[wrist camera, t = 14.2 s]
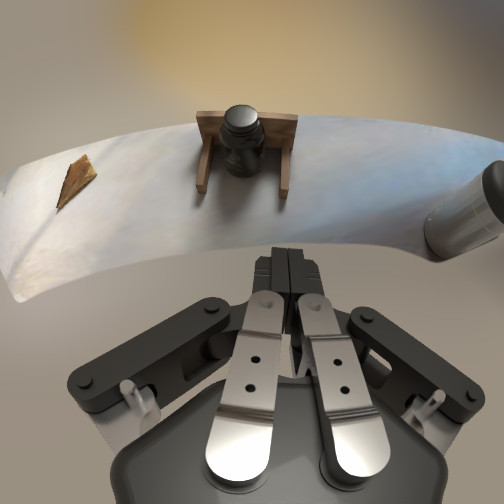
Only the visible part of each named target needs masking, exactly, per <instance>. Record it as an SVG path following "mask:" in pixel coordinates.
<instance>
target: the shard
mask: <svg viewBox="0 0 504 504" xmlns="http://www.w3.org/2000/svg"><path fill="white" fill-rule="evenodd" d="M96 175H97V173H96V171H95V170H94V168H93V166H92V164H91V162H90V159H89V158H88V156H87V155H86V154H85V155H83V156H82V157H81V158H80V159H79V160H77V161H76V162H74V163H73V164H70V167H69V169H68V171H67V175H66V177H65V180H64V182H63V186H62V189H61V193H60V197H59V200H58V203H57V207H56V208H61V207H62V206H63V205H64V204H65V203H66V202H67V201H68V200H69V199H70V198H71V197H72V196H73V195H74V194H75V193H76V192H77V190H79V189H80V188H81V187H82V186H84V185H85V184H86V183H87V182H88V181H90V180H91V179H92V178H94V177H95V176H96Z"/></svg>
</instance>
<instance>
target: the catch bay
mask: <svg viewBox="0 0 504 504" xmlns="http://www.w3.org/2000/svg"><path fill="white" fill-rule="evenodd" d="M225 112H226V111H197V114H196V119H197V123H198V126H199V130H200V134H201V137H202V141H203V148H202V153H201V158H200V163H199V168H198V174H197V179H196V184H195V185H196V187H197V190H198V192H199V193H206V190H207V184H208V178H209V172H210V167H211V161H212V155H213V150H214V145H221V143H220V137H219V132H220V128H221V126H222V125H223V123H224V115H225ZM257 114H258V120H259V121H260V122H261V123H262V125H263V127H264V130H265V147H272V148H281V170H280V194H279V198H287V195H288V190H289V149H293V144H294V138H295V132H296V127H297V121H298V115H293V114H281V113H267V112H257Z"/></svg>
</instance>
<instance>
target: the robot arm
mask: <svg viewBox="0 0 504 504" xmlns="http://www.w3.org/2000/svg"><path fill="white" fill-rule="evenodd" d="M424 232H425V237H426V240H427V243H428V245H429V246H430V248H431V249H432V251H433V252H434V253H435V254H436V255H438V256H440V257H442V258H446V259H448V258H452V257H454V256H457V255H459V254H461V253H463V252H465V251H467V250H470V249H472V248H474V247H476V246H478V245H480V244H482V243H484V242H486V241H488V240H490V239H492V238H494V237H496V236H498V235H500V234H502V233H504V161H500V160H498V161H495V162H493V163H491V164H490V165H489V166H488V167H487V168H486V169H484V170H483V171H482V172H481V173H480V174H479V175H477V176H476V177H475V178H474V179H473V180H472V181H470V182H469V183H468V184H467V185H466V186H464V187H463V188H462V189H461V190H459V191H458V192H457V193H456V194H455V195H453V196H452V197H451V198H450V199H448V200H447V201H446V202H444V203H443V204H442V205H441V206H439V207H438V208H437V209H435V210H434V211H433V212H432V213H430V214H429V215H428V217H427V218H426V221H425V225H424ZM284 326H285V334H291V341H290V346H289V351H290V359H291V366H292V374H293V378H288V377H284V376H280V375H278V371H279V361H280V351H281V340H282V335H281V334H283V332H284ZM371 349H372V350H373V351H375V352H376V353H377V354H379V355H380V356H381V357H382V358H384V359H385V360H386V361H388V362H389V363H390V365H391V367H392V371H391V370H389V369H388V368H387V367H385V366H384V365H383V364H382V363H380V362H379V361H378V360H377V359H375V358H374V357H373V356H372V355H370V354H369V352H370V350H371ZM230 357H232V359H231V364H230V367H229V371H228V375H227V379H224V380H221V381H218V382H216V383H213V384H211V385H210V386H208V387H206V388H205V389H204V390H202V391H201V392H200V393H198V394H197V395H196V396H195V397H193V398H192V399H191V400H189V401H188V402H187V403H186V404H184V405H183V406H182V407H180V408H179V409H178V410H176V411H175V412H174V413H172V414H171V415H170V416H168V417H167V418H166V419H164V420H163V421H161V422H160V423H158V422H159V420H160V418H161V411H160V410H161V409H162V408H164V407H165V406H167V405H168V404H169V403H171V402H172V401H174V400H175V399H177V398H178V397H180V396H181V395H183V394H184V393H186V392H187V391H188V390H190V389H191V388H193V387H194V386H196V385H197V384H198V383H200V382H201V381H202V380H204V379H205V378H207V377H208V376H210V375H211V374H212V373H214V372H215V371H216V370H218V369H219V368H220V367H222V366H223V365H225V364H226V363H227V362H228V361H229V359H230ZM67 388H68V391H69V392H70V394H71V395H72V397H73V398H74V399H75V401H76V402H77V403H78V405H79V407H80V408H81V410H82V411H83V412H84V413H85V415H86V416H87V417H88V418H89V419H90V420H91V422H92V423H93V424H95V425H96V427H97V429H98V430H99V432H100V433H101V435H102V436H103V438H104V439H105V441H106V442H107V444H108V445H109V446H110V448H111V449H112V451H113V452H114V453H115V455H116V457H115V458H114V460H113V463H112V466H111V470H110V481H111V486H112V489H113V492H114V495H115V500H116V504H442V498H443V494H444V491H445V488H446V484H447V480H448V467H447V463H446V460H445V458H444V454H445V453H446V451H447V450H448V448H449V447H450V445H451V444H452V442H453V440H454V439H455V437H456V435H457V434H458V432H459V431H460V429H461V427H462V426H463V425H464V424H465V423H467V422H468V421H469V420H470V419H471V418H472V417H473V416H474V415H475V414H476V413H477V412H478V411H479V410H480V409H481V408H482V407H483V405H484V403H485V395H484V392H483V390H482V389H481V387H480V386H479V385H478V384H476V383H475V382H473V381H472V380H471V379H470V378H468V377H467V376H466V375H464V374H463V373H462V372H460V371H459V370H458V369H456V368H455V367H454V366H452V365H451V364H450V363H448V362H447V361H446V360H444V359H443V358H441V357H440V356H439V355H437V354H436V353H435V352H433V351H432V350H430V349H429V348H428V347H426V346H425V345H424V344H422V343H421V342H419V341H418V340H417V339H415V338H414V337H412V336H411V335H410V334H408V333H407V332H405V331H404V330H403V329H401V328H400V327H398V326H397V325H396V324H394V323H393V322H391V321H390V320H388V319H387V318H386V317H384V316H383V315H381V314H380V313H378V312H377V311H376V310H374V309H372V308H369V307H357V308H355V309H353V310H352V312H351V314H349V313H345V312H341V311H338V310H336V309H334V308H333V307H332V304H331V302H330V301H329V299H327V298H326V297H325V296H324V291H323V286H322V282H321V279H320V274H319V269H318V266H317V264H316V263H315V262H314V261H313V260H306V259H304V255H303V250H302V249H291V248H288V249H287V248H278V247H272V250H271V257H263V256H260V258H258V260H257V261H256V263H255V272H254V282H253V290H252V295H251V296H250V298H249V300H248V301H247V302H245V303H243V304H240V305H236V306H230V305H229V304H228V303H227V302H226V301H225V300H223V299H221V298H216V297H209V298H204V299H202V300H200V301H198V302H196V303H195V304H193V305H191V306H189V307H188V308H186V309H184V310H182V311H181V312H179V313H177V314H175V315H173V316H172V317H170V318H168V319H166V320H164V321H163V322H161V323H159V324H157V325H156V326H154V327H152V328H150V329H149V330H147V331H145V332H143V333H141V334H139V335H138V336H136V337H134V338H132V339H130V340H129V341H127V342H125V343H123V344H121V345H119V346H118V347H116V348H114V349H112V350H110V351H109V352H107V353H105V354H103V355H102V356H99V357H98V358H96V359H94V360H92V361H90V362H89V363H86V364H85V365H83V366H81V367H79V368H77V369H76V370H74V371H73V372H72V373H71V375H70V376H69V378H68V381H67Z"/></svg>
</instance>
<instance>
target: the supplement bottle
mask: <svg viewBox="0 0 504 504" xmlns="http://www.w3.org/2000/svg"><path fill="white" fill-rule="evenodd" d="M219 137H220V143H221V148H222V154H223V159H224V164H225V167H226V169H227V170H228V171H229V172H230V173H231V174H232V175H234V176H237V177H250V176H253V175H255V174H257V173H258V172H259V171H260V170H261V168H262V167H263V164H264V148H265V130H264V127H263V125H262V123H261V122H260V121H259V120H258V114H257V112H256V110H255V109H254V108H252V107H250V106H247V105H236V106H233V107H230V108H229V109H228V110H227V111H226V112H225V115H224V123H223V125H222V126H221V128H220V132H219Z"/></svg>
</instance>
